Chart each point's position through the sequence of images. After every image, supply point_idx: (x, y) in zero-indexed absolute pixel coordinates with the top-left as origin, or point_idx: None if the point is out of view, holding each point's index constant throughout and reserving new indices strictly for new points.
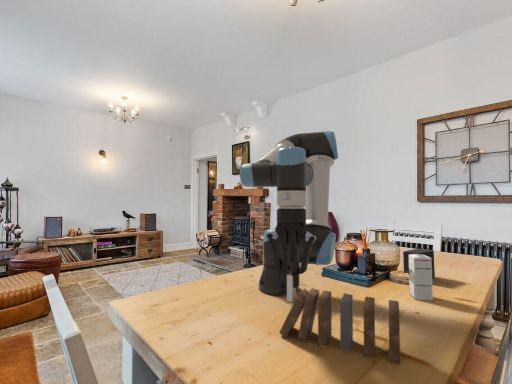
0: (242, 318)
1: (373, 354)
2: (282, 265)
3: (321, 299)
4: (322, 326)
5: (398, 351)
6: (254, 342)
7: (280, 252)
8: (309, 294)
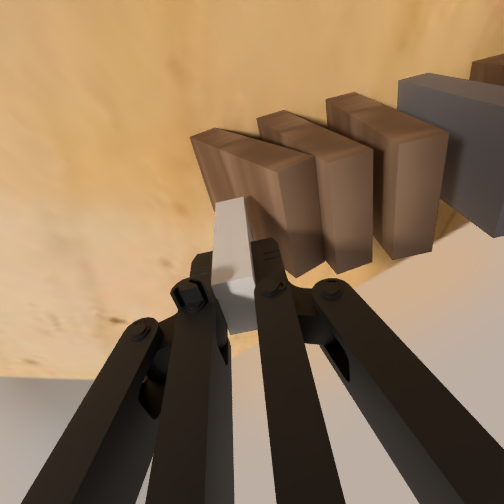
0: (30, 188)
1: None
2: (159, 354)
3: (406, 254)
4: None
5: None
6: (187, 266)
7: (92, 469)
8: (345, 250)
